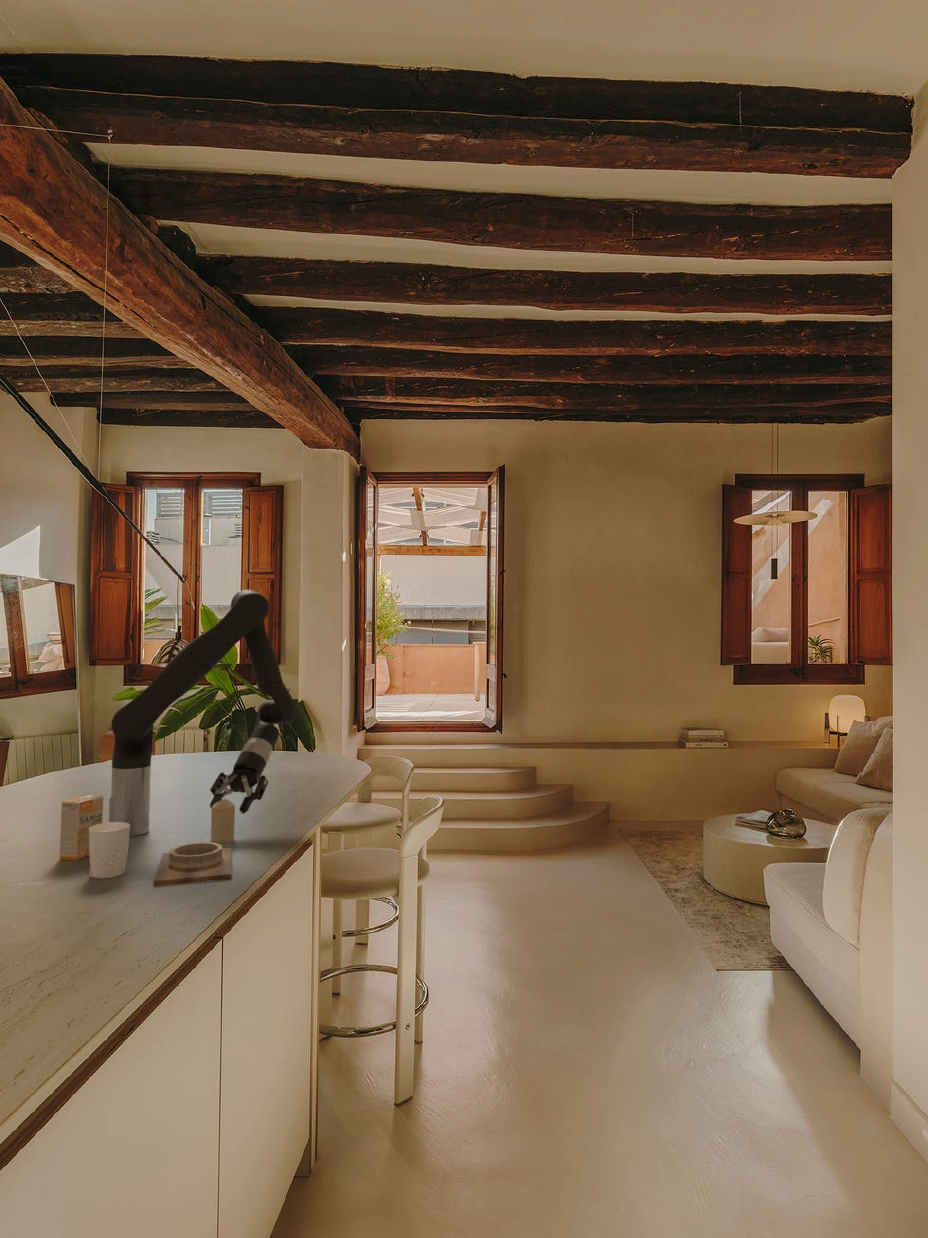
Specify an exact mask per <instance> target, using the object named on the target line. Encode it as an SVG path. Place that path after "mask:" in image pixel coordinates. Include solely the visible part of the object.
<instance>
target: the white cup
mask: <svg viewBox="0 0 928 1238" xmlns="http://www.w3.org/2000/svg"><path fill="white" fill-rule="evenodd" d="M129 832H130V824H129V823H125V822H109V821H108V822H102V824H97V825H94V826H91V827H90V828H89V856H88V857H89V864H90V865H89V866H90V867H89V869H90V871H89V874H90V877H91V878H94V879H110V878H117V877H120V876H121V875H124V874H125V873H126V869H127V860H128V854H129V844H130V843H129V841H130V836H129Z"/></svg>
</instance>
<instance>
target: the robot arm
mask: <svg viewBox="0 0 928 1238" xmlns="http://www.w3.org/2000/svg"><path fill="white" fill-rule="evenodd" d="M230 602H231V603H230V610H229V611H228V612H227V613H226V614H225V615H224V617H222V618H221V620H220V621H218V623H216V624H215V625H214V626H212V627H211V628H210V629H208V630H207V631H205V632H203V633H201V634H200V635H199V636H197V637H196V638H194V639H193V640H191V641H190V642H189V643H187V644H186V645H185V646H184V647H183V648H182V649H181V650H180V651H178V653H177V654H175V656H174V657H173V658H172V659H171V660H170V661H169V662H168V663H167V664H166V665H165V667H164V668H163V669H162V670H161V671H159V673H158V674H157V676H156V677H155V678H154V679H153V681H152V682H151V683H150V684H149V685H148V686H147V687H146V688H145V689H144V690H143V691H142V692H140V693H139V694H138V695H137V696H135V698H133V699H132V700H130V701H129V702H128V703H126V704H125V705H124V706H122V707H121V708H119V709H118V710H117V711H116V713H114V715H113V716H112V720H111V725H110V726H111V731H112V734H113V735H114V745H113V753H112V758H111V779H110V781H111V783H110V784H111V785H110V788H111V790H110V798H109V800H108V823H109V822H125V823H129V824H130V832H129V837H136V836H140V835H143V834H146V833H148V832H149V831H150V807H151V805H150V803H151V800H150V799H151V778H152V777H151V774H152V772H151V769H152V754H153V745H154V744H153V743H154V741H153V740H154V724H155V723H156V721H157V720H158V719H159V718H160V717H161V716H162V714H164V713H165V711H166V710H167V709H168V708H169V707H170V706H171V705H172V704H173V703H175V702H176V701H178V700H179V699H180V698H182V697H183V696H184V695H186V694H187V693H188V692H189V691H190V690H192V688H194V687H195V686H196V685H198V683H200V682H201V681H203V679H204V678H205V677H206V676H207V675H208V674H209V673H210V672H211V671H212V670H213V669H214V668H215V666H216V665H218V664H219V662H221V660H222V659H224V657H225V656H227V654H228V653H229V652H230V651H231V650H232V649H233V647H234V646H235V645H236V644H237V643H238V642H240V641H241V640H242V639H243V638H244V641H245V644H246V647H247V650H248V651H247V652H248V654H249V658H250V659H249V660H250V663H251V667H252V671H253V675H254V679H255V682H256V685H257V690H258V691H259V693H260V694H261V695H264V696H266V697H267V696H268V697H270V698H271V699H267V700H265V701H263V702H262V703H261V704H260V706H259V707H258V709H257V713H256V714H257V716H256V720H255V724H254V729H253V731H252V733H251V735H250V737H249V739H248V740H247V742H246V743H245V744H244V746H243V748H242V750H241V752H240V753H239V755H238V757H237V760H236V761H235V763H234V765H233V770H232V772H231V773H230V774H225V773H224V772H223V771H222V772H220V773H219V774H218V776H217V777H216V779H215V781H214V782H213V784H212V785H211V788H210V790H209V791H210V792H211V794H212V795H213V798H212V799H211V801H210V803H209V806H210V809H211V810H212V806H213V805H214V804H215V803H217V802H219V801H220V800H223V799H224V797H226V796H227V795H231V794H232V793H242V794H243V793H245V794H246V796H245V797H244V798H243V800H242V802H241V804H240V806H239V809H238V810H239V812H240V813H241V814H246V813H247V812H248V811H249V810H250V807H251V805H252V803H253V802H254V801H256V800H258V801H261V800H262V798H263V796H264V794H265V792H266V788H267V786H268V784H269V781H268V779H267V777H266V776H265V775H264V774H263V772H264V770H265V768H266V767H267V764H268V762H269V760H270V758H271V755H272V753H273V750H274V748H275V746H276V744H277V742H278V739H279V737H280V730H279V729H278V728H277V727H276V726H275V725H280V724H281V725H285V724H290V723H292V722H294V720H295V719H296V716H297V706H296V702H295V700H294V698H293V697H292V695H291V693H290V692H289V690H288V688H287V686H286V684H285V683H284V682H283V677H282V673H281V670H280V666H279V664H278V662H279V661H278V660H277V657H276V655H275V652H274V649H273V648H272V645H271V643H270V642H271V641H270V640H269V637H268V636H269V635H268V634H267V630H266V625H265V620H266V618H267V617H268V614H269V611H270V603H269V600H268V599H267V598H266V597H265V596H264V595H263V594H261V593H259V592H257V591H255V590H252V589H243V590H239V591H238V592H236V593H235V594H234V595H233V597H232V599H231V601H230ZM262 774H263V775H262ZM255 786H256V787H255ZM228 787H229V788H228ZM253 787H255V789H253Z"/></svg>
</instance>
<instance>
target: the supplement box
mask: <svg viewBox="0 0 928 1238" xmlns="http://www.w3.org/2000/svg"><path fill="white" fill-rule="evenodd" d="M103 813H104V796H103V795H94V794H92V795H88V794H87V795H84V796H81V797H76V798H73V799H69V800H63V801H61V811H60V839H59V840H60V841H59V859H60V860H64V861H75V862H76V861H78V860H81V859H83V858H86V857H90V855H89V828H90V827H91V826H94V825H97V824H102V823H103V815H104V814H103Z"/></svg>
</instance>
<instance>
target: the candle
mask: <svg viewBox="0 0 928 1238" xmlns="http://www.w3.org/2000/svg"><path fill="white" fill-rule="evenodd" d="M235 809H236V807H235V804H234V803H233V802H232V801H231V800H229V799H227V798H222V800H220V801H219V802H217V803H215V804H214V805H213V806H212V809H211V819H210V821H211V822H210V825H211V826H210V827H211V828H210V842H211V843H217V844H225V843H226V844H227V843H231V842H234V840H235V821H236V820H235V817H236V816H235V815H236V813H235V811H236V810H235Z"/></svg>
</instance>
